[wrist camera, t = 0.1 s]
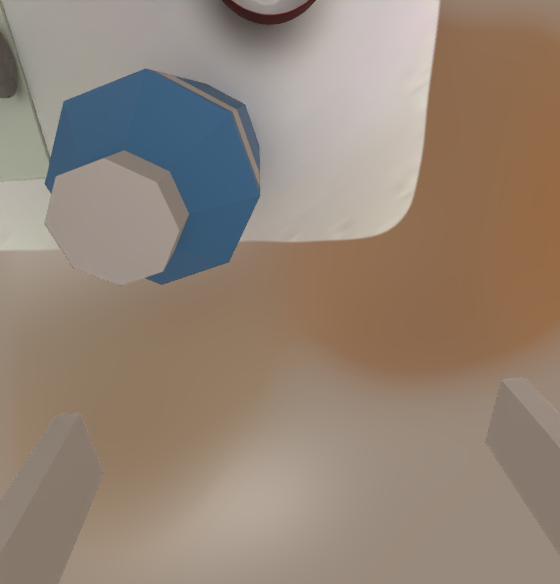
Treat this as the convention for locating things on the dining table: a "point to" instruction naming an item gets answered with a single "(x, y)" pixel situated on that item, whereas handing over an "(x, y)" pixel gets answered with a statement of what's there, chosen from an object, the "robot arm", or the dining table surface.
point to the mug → (269, 9)
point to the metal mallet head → (7, 71)
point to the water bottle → (151, 178)
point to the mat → (20, 127)
